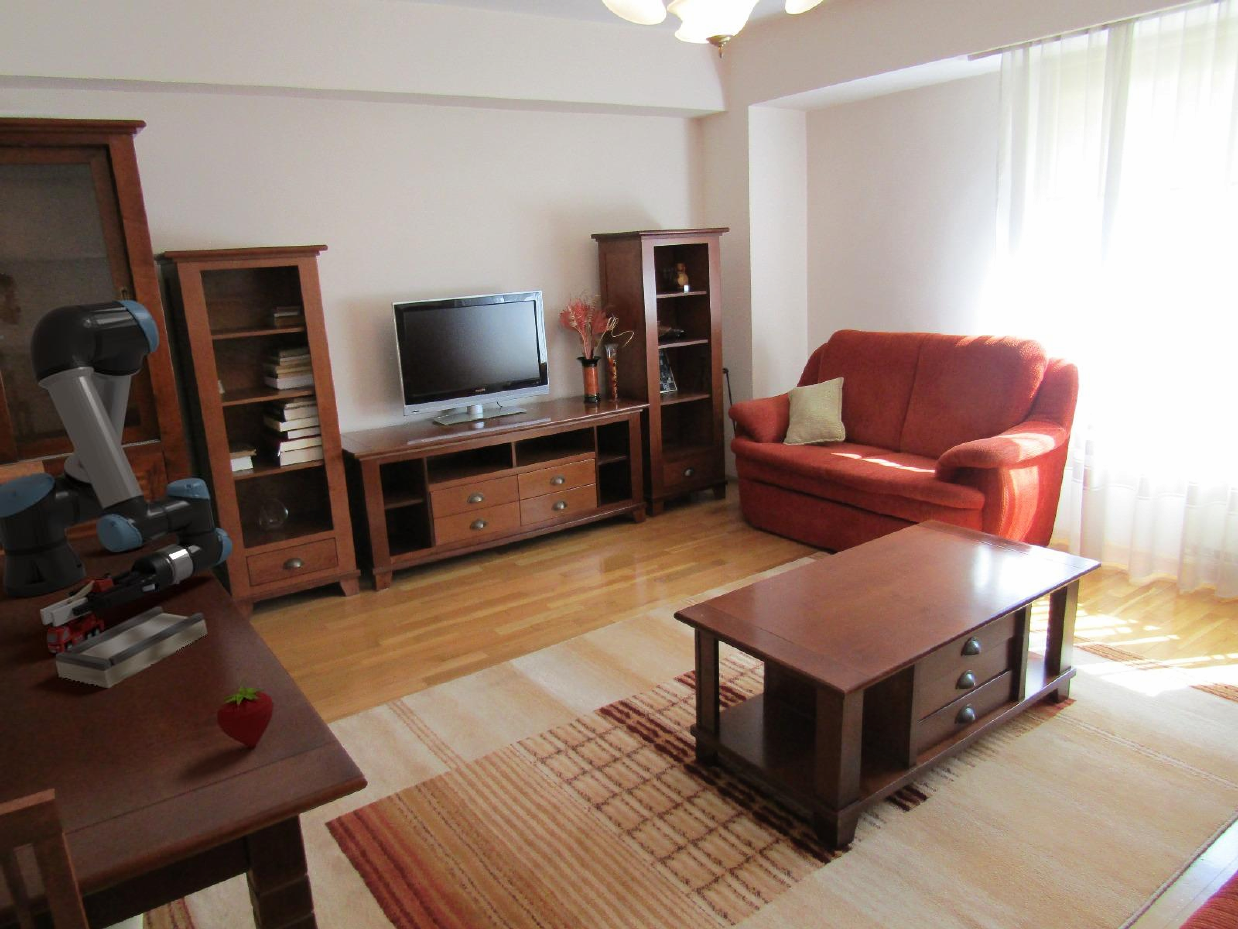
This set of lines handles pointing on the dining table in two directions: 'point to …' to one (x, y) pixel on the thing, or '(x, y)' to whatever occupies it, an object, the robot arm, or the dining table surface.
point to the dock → (129, 647)
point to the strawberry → (246, 715)
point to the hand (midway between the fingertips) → (48, 618)
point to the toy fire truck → (78, 621)
